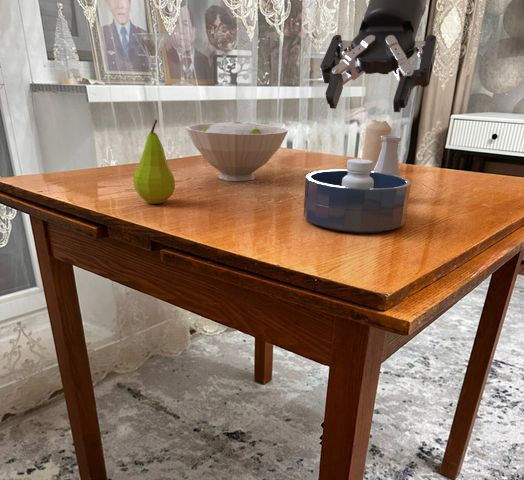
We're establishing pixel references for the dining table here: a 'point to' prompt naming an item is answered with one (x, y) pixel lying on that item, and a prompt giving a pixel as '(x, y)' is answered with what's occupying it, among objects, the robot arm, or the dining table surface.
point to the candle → (374, 140)
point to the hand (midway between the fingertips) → (363, 105)
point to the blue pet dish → (356, 202)
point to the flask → (388, 155)
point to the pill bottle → (358, 174)
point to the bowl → (236, 146)
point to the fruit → (154, 172)
